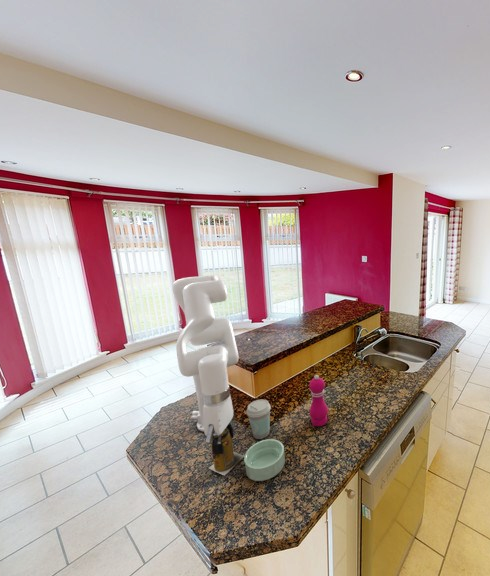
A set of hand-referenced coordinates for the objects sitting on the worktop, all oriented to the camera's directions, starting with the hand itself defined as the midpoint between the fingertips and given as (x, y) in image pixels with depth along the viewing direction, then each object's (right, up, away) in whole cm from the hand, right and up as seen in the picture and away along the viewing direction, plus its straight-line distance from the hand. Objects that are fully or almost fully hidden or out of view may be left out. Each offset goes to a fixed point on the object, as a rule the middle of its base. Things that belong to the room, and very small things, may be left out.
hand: (223, 444), depth 90 cm
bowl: (+13, -7, +1) cm, 15 cm away
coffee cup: (+7, -5, +16) cm, 18 cm away
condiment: (0, -7, +2) cm, 8 cm away
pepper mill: (+28, -3, +22) cm, 36 cm away
